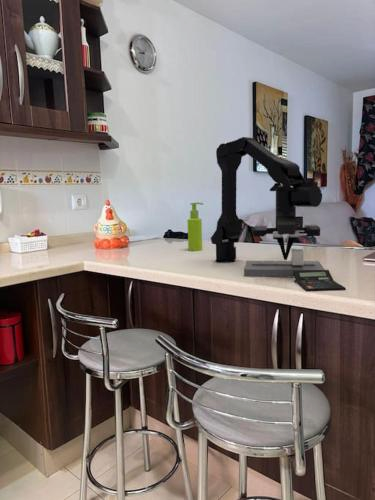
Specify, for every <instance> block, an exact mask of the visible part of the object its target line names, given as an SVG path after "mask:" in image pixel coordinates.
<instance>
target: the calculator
mask: <svg viewBox="0 0 375 500" xmlns="http://www.w3.org/2000/svg"><path fill="white" fill-rule="evenodd" d="M293 275H294V277H293V278H294V281H295V282H296V285H297V286H299V287H300V288H301V289H303V290H304V291H305V292H327V291H329V292H332V291H346V290H347V289H346V287H345V286H343V285H342V284H340V283H338V281H337V282H336V281H335V280H334V279H333V277H332V274H331V273H330V270H329V269H325V270H307V271H293Z"/></svg>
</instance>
